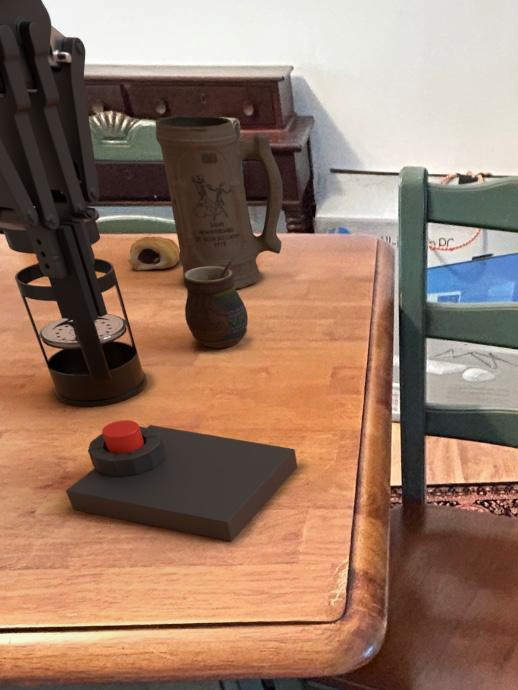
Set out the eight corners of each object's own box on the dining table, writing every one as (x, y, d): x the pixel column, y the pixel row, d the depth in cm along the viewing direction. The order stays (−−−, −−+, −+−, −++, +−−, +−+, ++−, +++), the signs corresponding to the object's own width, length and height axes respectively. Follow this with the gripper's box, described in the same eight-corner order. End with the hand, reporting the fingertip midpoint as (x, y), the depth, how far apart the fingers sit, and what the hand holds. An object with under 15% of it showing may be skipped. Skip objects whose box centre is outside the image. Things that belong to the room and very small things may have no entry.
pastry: (145, 252, 116) (139, 226, 113) (189, 252, 116) (183, 226, 114) (129, 271, 109) (122, 244, 106) (175, 271, 109) (169, 244, 107)
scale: (63, 507, 62) (48, 471, 60) (146, 441, 71) (136, 407, 68) (231, 541, 59) (223, 504, 56) (297, 467, 67) (292, 432, 65)
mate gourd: (210, 327, 93) (192, 242, 86) (264, 334, 91) (251, 248, 85) (179, 349, 87) (158, 260, 81) (236, 356, 86) (219, 266, 79)
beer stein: (185, 296, 101) (159, 124, 88) (173, 272, 108) (148, 111, 96) (295, 289, 106) (285, 127, 94) (276, 268, 114) (265, 114, 101)
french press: (49, 376, 81) (-40, 133, 66) (137, 360, 85) (71, 126, 70) (63, 421, 74) (-35, 158, 58) (159, 401, 77) (90, 148, 62)
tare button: (100, 452, 63) (94, 433, 62) (121, 435, 65) (116, 417, 64) (130, 457, 62) (124, 438, 61) (151, 440, 64) (146, 422, 63)
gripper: (-96, -123, 35) (68, 355, 51) (85, -104, 45) (176, 292, 60) (-216, -121, 37) (-21, 342, 52) (-15, -103, 46) (98, 283, 62)
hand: (84, 315), depth 56 cm, fingers closed
